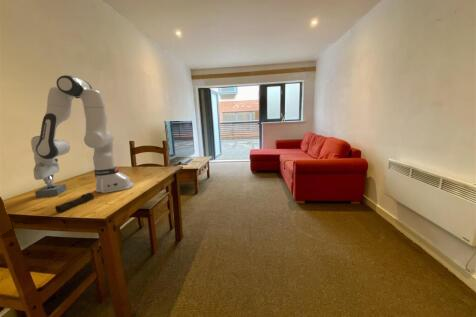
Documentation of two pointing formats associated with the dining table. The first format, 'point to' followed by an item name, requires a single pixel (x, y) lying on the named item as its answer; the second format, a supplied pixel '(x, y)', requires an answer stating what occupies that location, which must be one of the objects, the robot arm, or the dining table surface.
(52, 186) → the steel pin
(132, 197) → the dining table surface
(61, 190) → the hole block
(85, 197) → the hand tool
